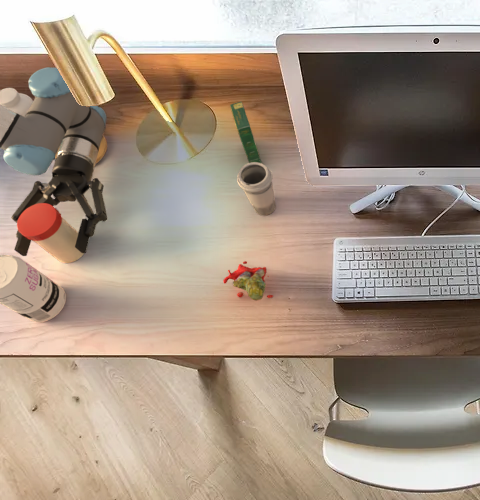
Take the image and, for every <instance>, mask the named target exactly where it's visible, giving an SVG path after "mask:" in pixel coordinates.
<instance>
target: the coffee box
mask: <svg viewBox="0 0 480 500" xmlns="http://www.w3.org/2000/svg"><path fill="white" fill-rule="evenodd" d="M229 106H230V107H229V108H230V110H231V114H232V117H233V120H234V124H235V128H236V130H237V131H236V132H237V133H238V135H239V139H240V142H241V145H242V146H243V150H244V153H245V155H246V158H247V161H248V163H251V162H258V163H262V160H261V156H260V153H259V149H258V146H257V144H256V140H255V137H254V133H253V130H252V126H251V125H250V124H251V123H250V121H249V118H248V115H247V113H246V109H245V107H244V104H243V101H237V102H234V103H231V104H229Z"/></svg>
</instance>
